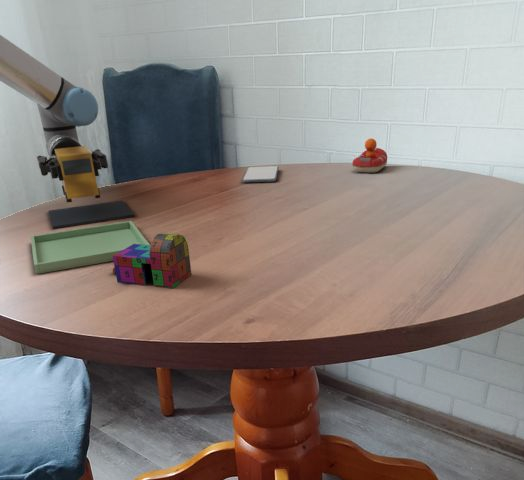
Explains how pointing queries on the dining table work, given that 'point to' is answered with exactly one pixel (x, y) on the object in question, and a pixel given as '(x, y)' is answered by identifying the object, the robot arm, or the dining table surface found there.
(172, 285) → the block
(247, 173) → the smartphone
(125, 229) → the box
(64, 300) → the dining table surface
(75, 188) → the toy van
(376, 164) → the toy boat
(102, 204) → the mat
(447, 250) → the dining table surface
